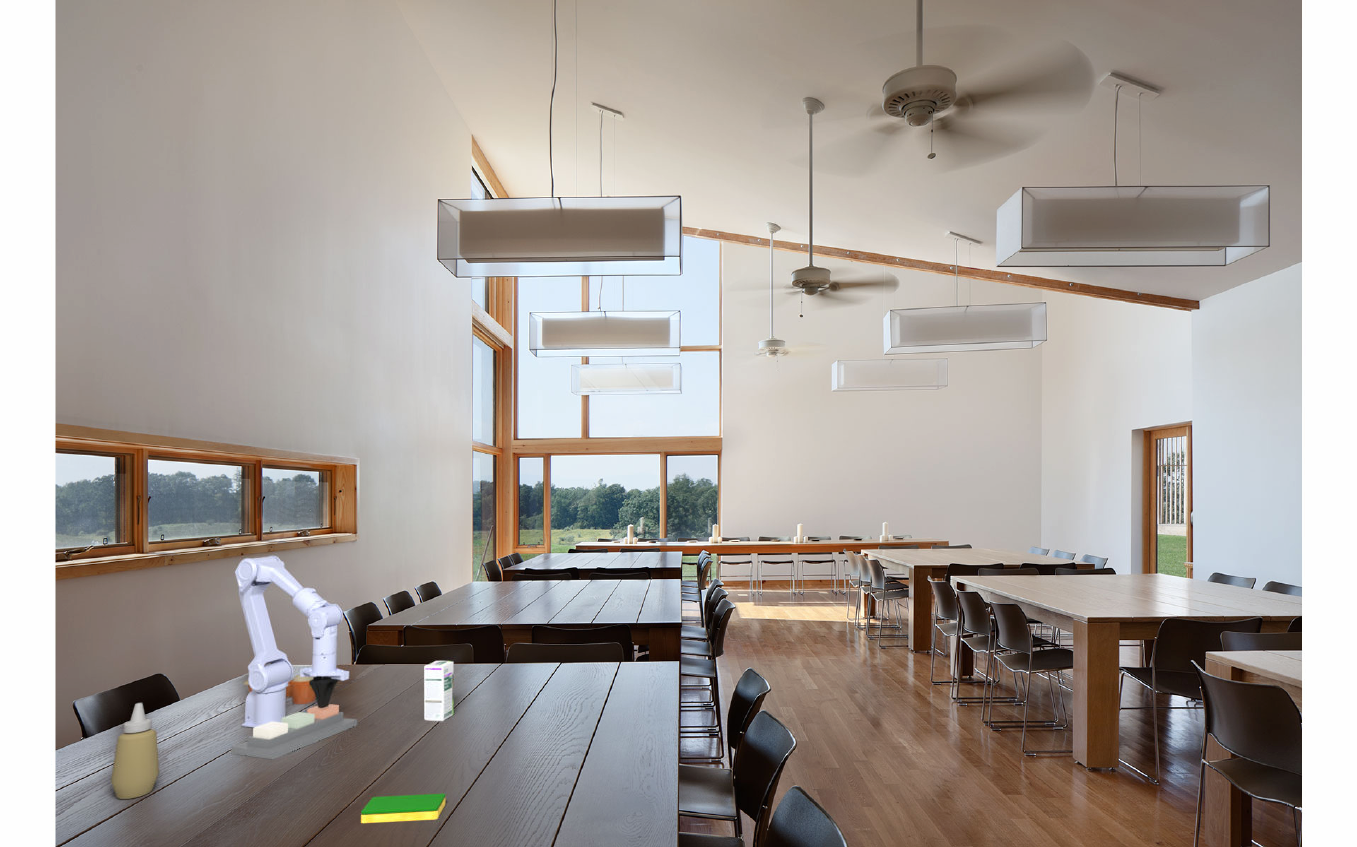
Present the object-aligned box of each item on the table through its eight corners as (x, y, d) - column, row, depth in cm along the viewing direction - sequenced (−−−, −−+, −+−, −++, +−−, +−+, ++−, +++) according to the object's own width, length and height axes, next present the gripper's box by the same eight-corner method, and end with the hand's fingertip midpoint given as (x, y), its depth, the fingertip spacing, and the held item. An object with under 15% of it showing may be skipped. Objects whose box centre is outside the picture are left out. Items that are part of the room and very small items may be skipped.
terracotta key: (307, 718, 192) (307, 708, 193) (323, 713, 197) (323, 703, 197) (323, 720, 191) (323, 710, 191) (338, 714, 195) (338, 704, 196)
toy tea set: (340, 691, 232) (340, 659, 233) (319, 705, 217) (320, 671, 217) (252, 693, 230) (253, 661, 231) (225, 708, 215) (227, 673, 216)
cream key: (252, 738, 177) (253, 727, 178) (271, 731, 182) (271, 721, 182) (269, 740, 176) (269, 729, 176) (287, 733, 180) (288, 723, 181)
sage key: (281, 728, 185) (281, 717, 185) (298, 722, 190) (298, 711, 190) (297, 730, 183) (297, 719, 183) (314, 723, 188) (314, 713, 188)
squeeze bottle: (126, 787, 156) (130, 698, 158) (167, 785, 157) (171, 697, 159) (99, 803, 148) (104, 709, 150) (143, 801, 149) (147, 708, 151)
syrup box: (443, 721, 198) (444, 665, 200) (423, 720, 200) (424, 664, 201) (454, 715, 204) (454, 660, 205) (434, 714, 205) (434, 659, 207)
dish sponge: (437, 821, 139) (437, 807, 139) (360, 825, 138) (360, 811, 138) (445, 805, 146) (445, 792, 146) (372, 809, 145) (372, 796, 145)
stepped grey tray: (231, 753, 176) (231, 737, 176) (318, 720, 201) (318, 707, 201) (273, 759, 172) (273, 743, 172) (357, 725, 196) (357, 711, 196)
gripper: (290, 654, 194) (289, 708, 193) (334, 657, 189) (333, 713, 188) (312, 648, 201) (311, 701, 199) (355, 652, 196) (354, 705, 195)
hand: (323, 706), depth 194 cm, fingers closed
